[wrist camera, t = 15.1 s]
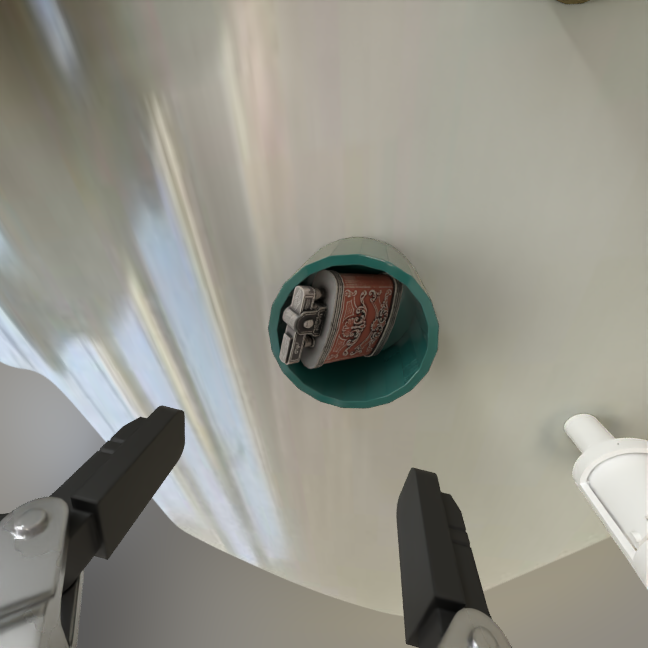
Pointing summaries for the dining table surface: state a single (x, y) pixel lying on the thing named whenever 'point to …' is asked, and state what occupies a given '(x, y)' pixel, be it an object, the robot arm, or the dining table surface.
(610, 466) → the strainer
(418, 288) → the ceramic cup
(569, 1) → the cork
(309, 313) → the lighter
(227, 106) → the dining table surface
